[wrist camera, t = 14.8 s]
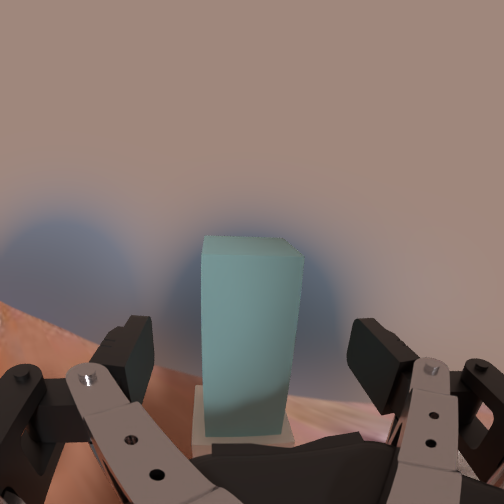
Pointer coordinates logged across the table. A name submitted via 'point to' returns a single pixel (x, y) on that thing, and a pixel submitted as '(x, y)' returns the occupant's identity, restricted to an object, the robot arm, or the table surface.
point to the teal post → (248, 332)
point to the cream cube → (204, 444)
